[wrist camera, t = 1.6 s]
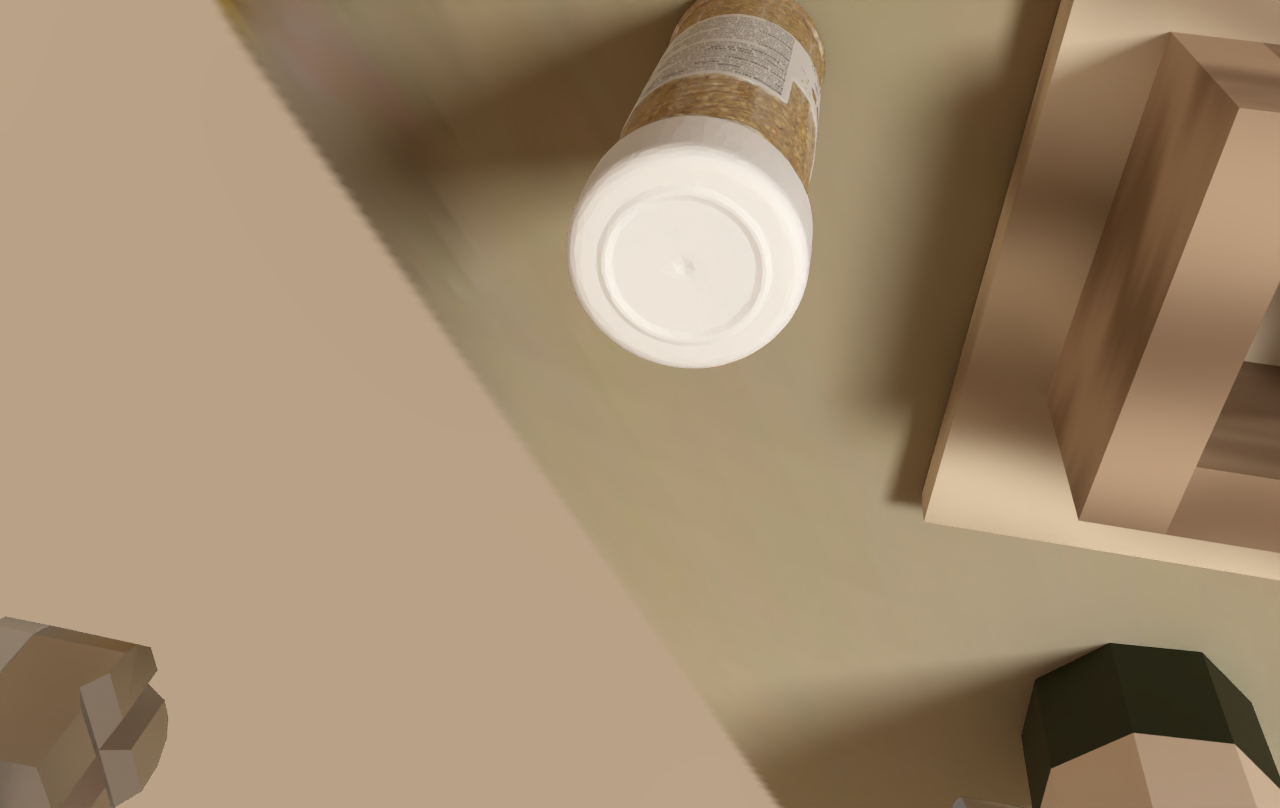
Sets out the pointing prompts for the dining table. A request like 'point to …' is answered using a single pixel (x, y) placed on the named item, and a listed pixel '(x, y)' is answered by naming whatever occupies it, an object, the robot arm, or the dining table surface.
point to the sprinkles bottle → (707, 191)
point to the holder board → (1045, 277)
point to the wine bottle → (1145, 735)
